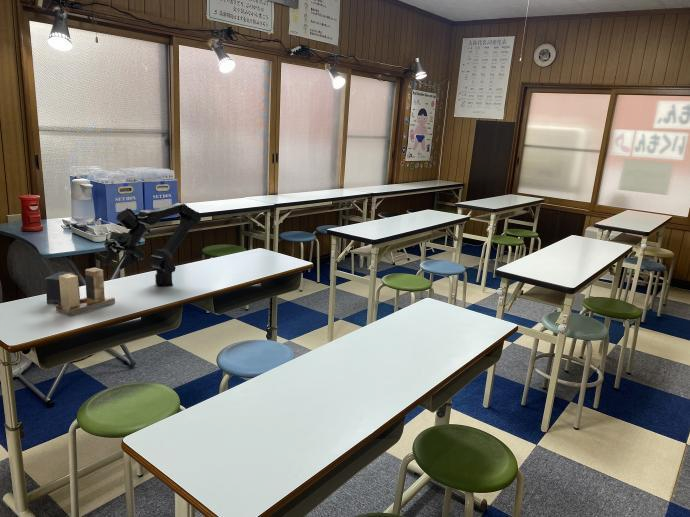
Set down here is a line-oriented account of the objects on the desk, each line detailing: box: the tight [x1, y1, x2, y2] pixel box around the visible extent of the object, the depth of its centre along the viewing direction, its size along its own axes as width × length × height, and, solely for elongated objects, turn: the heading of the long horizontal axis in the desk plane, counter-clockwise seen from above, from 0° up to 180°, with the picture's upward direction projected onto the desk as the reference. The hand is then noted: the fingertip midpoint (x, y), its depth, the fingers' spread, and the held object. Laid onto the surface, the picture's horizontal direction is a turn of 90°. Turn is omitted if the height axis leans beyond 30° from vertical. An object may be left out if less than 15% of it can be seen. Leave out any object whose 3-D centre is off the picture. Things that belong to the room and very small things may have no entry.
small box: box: [44, 270, 76, 305], centre depth 199 cm, size 11×6×10 cm, turn 179°
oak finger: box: [84, 267, 106, 303], centre depth 197 cm, size 5×5×13 cm
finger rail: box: [55, 274, 116, 317], centre depth 193 cm, size 18×9×14 cm, turn 151°
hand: (112, 266), depth 202 cm, fingers open, 9 cm apart
